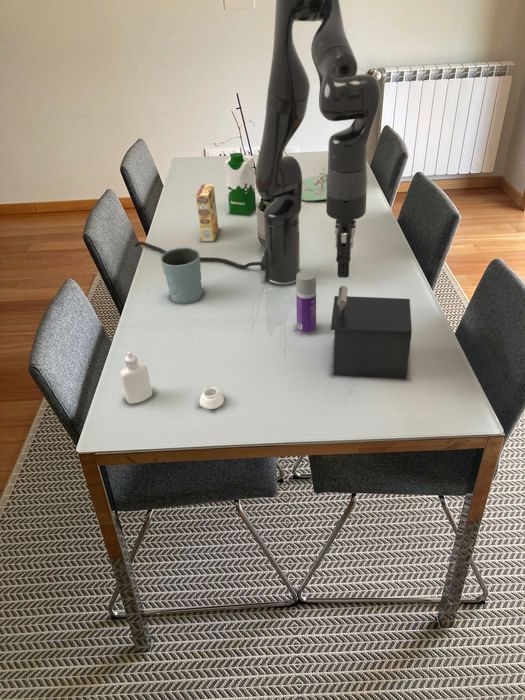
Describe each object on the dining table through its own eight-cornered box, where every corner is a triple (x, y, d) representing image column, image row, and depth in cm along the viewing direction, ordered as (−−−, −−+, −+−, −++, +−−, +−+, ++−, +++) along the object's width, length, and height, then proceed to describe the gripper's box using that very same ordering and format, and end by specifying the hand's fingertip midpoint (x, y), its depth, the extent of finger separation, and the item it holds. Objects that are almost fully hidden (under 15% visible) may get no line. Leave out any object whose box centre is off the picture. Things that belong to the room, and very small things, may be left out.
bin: (333, 375, 132) (334, 330, 125) (336, 341, 142) (338, 299, 135) (406, 379, 129) (411, 334, 122) (404, 345, 139) (409, 302, 132)
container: (314, 335, 144) (314, 280, 135) (295, 333, 145) (294, 279, 136) (317, 324, 148) (317, 270, 139) (298, 323, 149) (297, 269, 140)
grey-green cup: (211, 290, 164) (206, 250, 157) (192, 308, 157) (187, 268, 150) (179, 283, 168) (173, 244, 161) (160, 301, 160) (152, 261, 153)
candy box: (214, 241, 188) (209, 195, 179) (201, 241, 188) (195, 195, 179) (219, 229, 195) (214, 184, 186) (206, 229, 196) (201, 184, 187)
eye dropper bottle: (127, 391, 131) (117, 347, 123) (153, 389, 131) (144, 345, 123) (125, 404, 127) (113, 359, 120) (151, 403, 127) (141, 357, 120)
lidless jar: (228, 402, 126) (214, 391, 129) (227, 391, 124) (212, 380, 127) (209, 413, 123) (195, 402, 127) (208, 403, 122) (193, 391, 125)
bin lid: (330, 330, 125) (331, 308, 122) (334, 298, 135) (335, 277, 132) (411, 334, 122) (414, 312, 119) (409, 301, 132) (411, 280, 129)
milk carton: (226, 214, 204) (221, 156, 193) (236, 204, 211) (231, 147, 199) (250, 217, 202) (246, 158, 190) (259, 206, 209) (256, 148, 197)
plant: (290, 178, 229) (289, 155, 223) (344, 175, 228) (345, 152, 223) (294, 204, 208) (294, 179, 203) (354, 201, 208) (355, 176, 203)
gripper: (329, 176, 119) (328, 250, 129) (323, 204, 108) (323, 283, 118) (367, 176, 118) (363, 251, 128) (365, 205, 107) (361, 284, 116)
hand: (344, 266), depth 123 cm, fingers open, 8 cm apart
